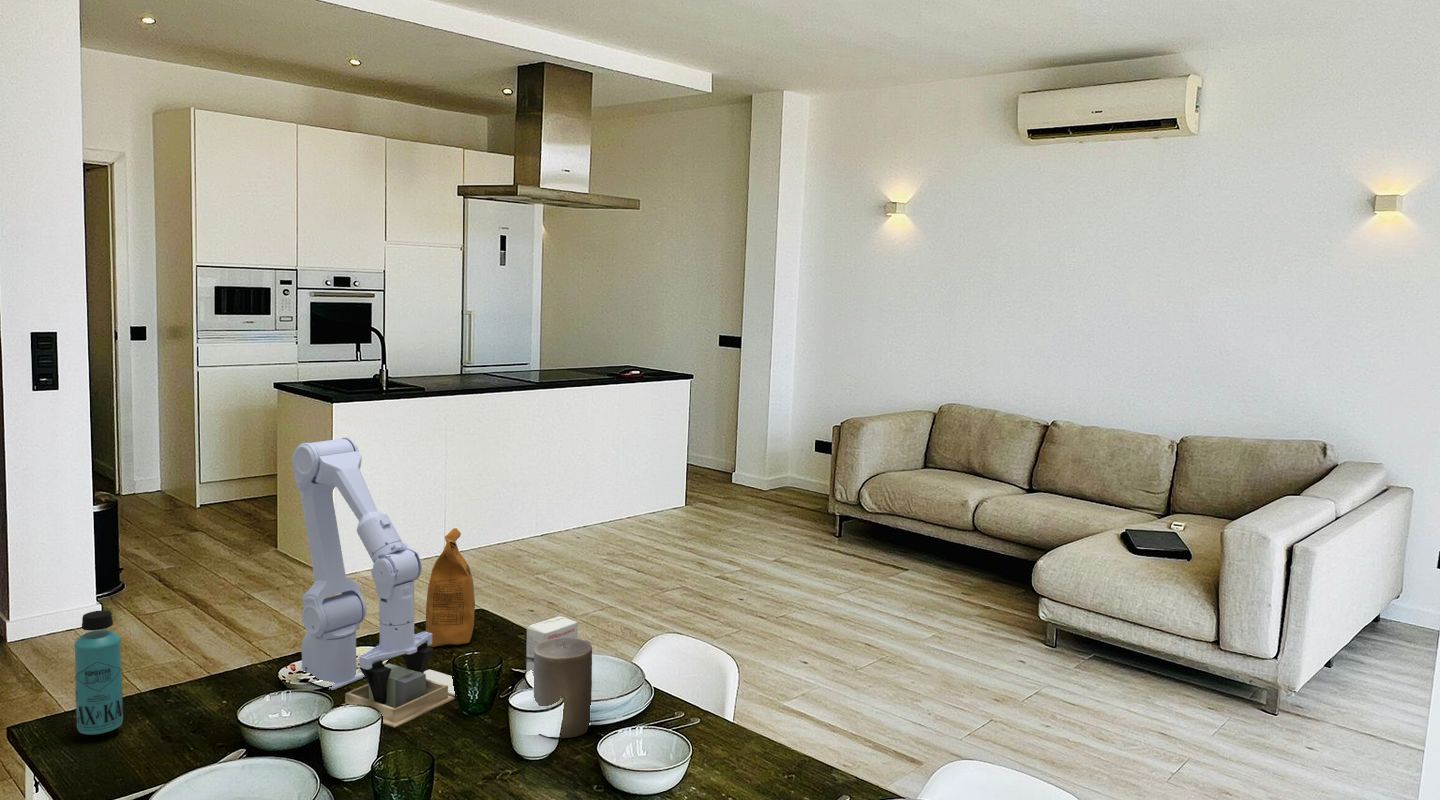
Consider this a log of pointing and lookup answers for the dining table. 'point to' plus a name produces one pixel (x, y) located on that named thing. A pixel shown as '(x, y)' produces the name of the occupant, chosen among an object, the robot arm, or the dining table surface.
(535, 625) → the ink box
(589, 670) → the pillar candle
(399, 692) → the box
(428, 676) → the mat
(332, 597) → the robot arm
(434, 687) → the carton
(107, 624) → the beverage bottle
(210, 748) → the dining table surface
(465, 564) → the coffee package
